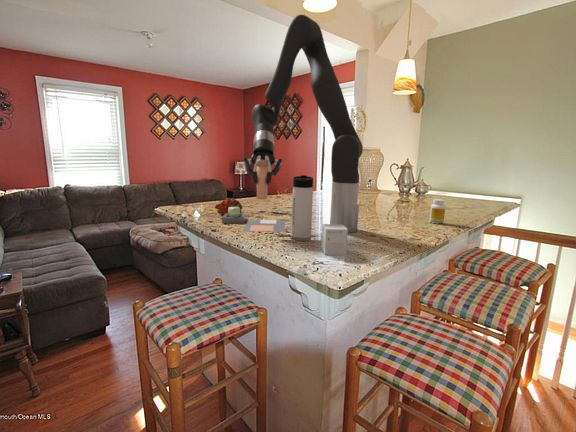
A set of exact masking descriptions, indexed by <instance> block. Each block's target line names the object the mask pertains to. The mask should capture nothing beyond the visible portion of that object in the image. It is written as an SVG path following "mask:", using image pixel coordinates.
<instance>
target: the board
mask: <svg viewBox="0 0 576 432" xmlns="http://www.w3.org/2000/svg"><path fill="white" fill-rule="evenodd" d="M244 232H252V233H253V232H254V233H255V232H261V233H286V227H285V220H281V219H280V220H279V219H247V222H246V224H245V226H244V228H243V233H244Z"/></svg>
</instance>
